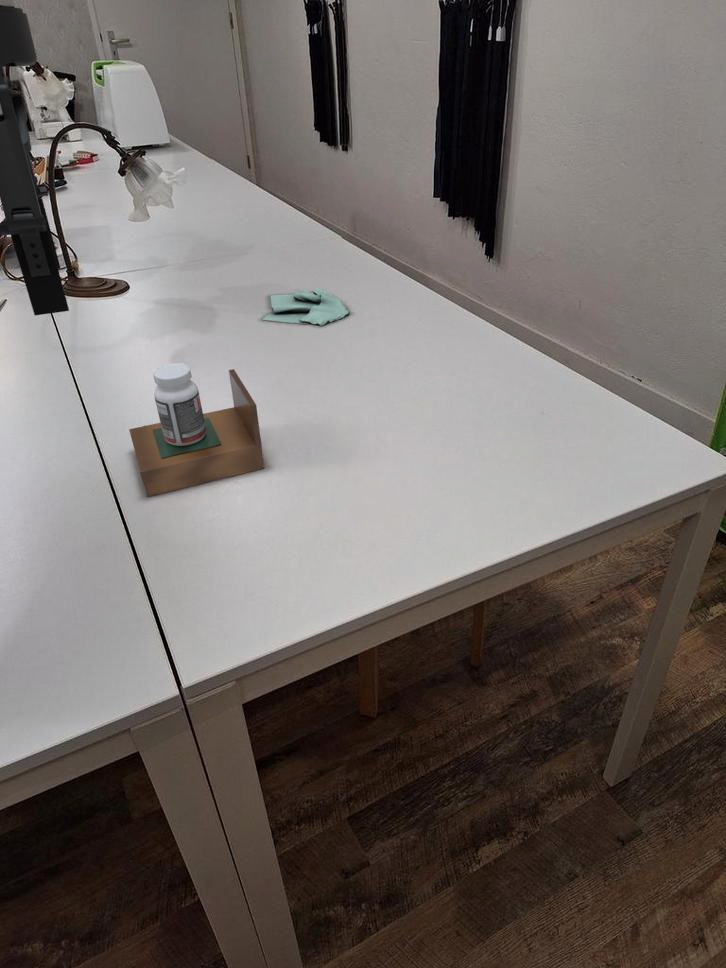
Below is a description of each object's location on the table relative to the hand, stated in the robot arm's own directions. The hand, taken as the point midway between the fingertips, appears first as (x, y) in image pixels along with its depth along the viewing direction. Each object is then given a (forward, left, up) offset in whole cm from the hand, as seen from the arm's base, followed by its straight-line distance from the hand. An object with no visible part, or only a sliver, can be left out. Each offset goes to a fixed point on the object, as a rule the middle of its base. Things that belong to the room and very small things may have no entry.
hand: (48, 289), depth 60 cm
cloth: (+46, +67, -31) cm, 86 cm away
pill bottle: (+11, +15, -27) cm, 32 cm away
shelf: (+12, +15, -31) cm, 36 cm away
